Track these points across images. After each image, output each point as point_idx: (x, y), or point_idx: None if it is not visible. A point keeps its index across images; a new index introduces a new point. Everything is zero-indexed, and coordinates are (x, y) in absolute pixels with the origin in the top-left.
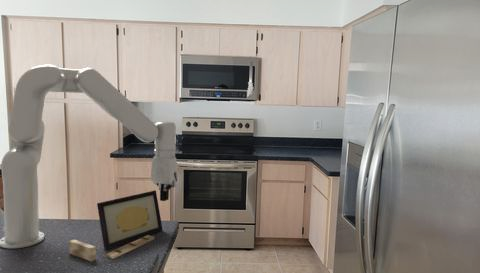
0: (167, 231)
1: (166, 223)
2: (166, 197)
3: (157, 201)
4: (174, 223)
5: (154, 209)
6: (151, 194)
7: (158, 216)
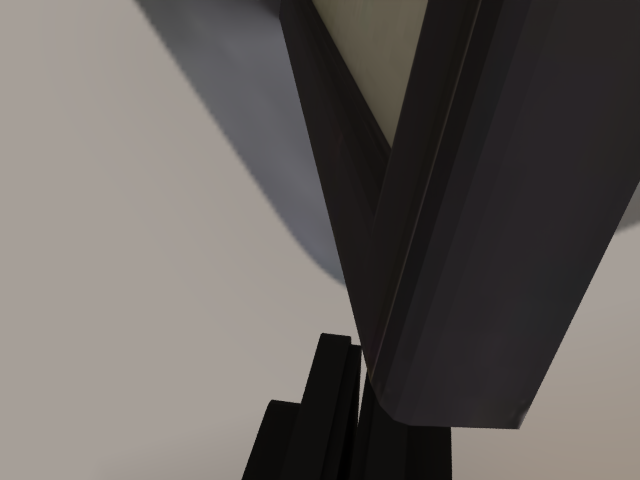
0: (224, 34)
1: None
2: (266, 423)
3: (317, 168)
4: (323, 269)
5: (341, 11)
6: (411, 88)
7: (295, 28)
